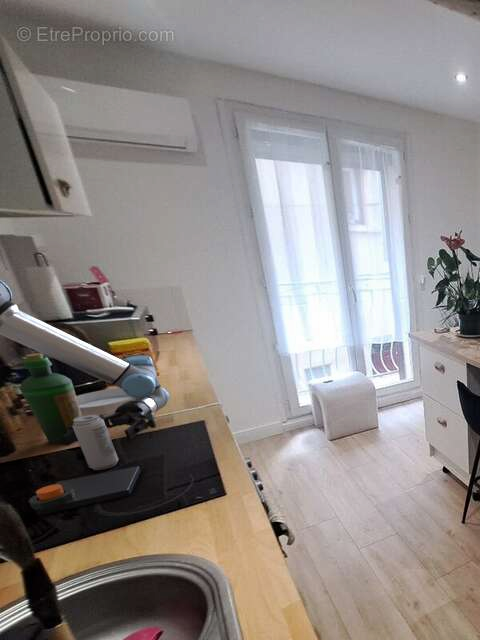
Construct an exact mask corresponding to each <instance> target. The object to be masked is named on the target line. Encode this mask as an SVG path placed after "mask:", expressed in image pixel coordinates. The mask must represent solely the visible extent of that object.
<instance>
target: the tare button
mask: <svg viewBox="0 0 480 640" xmlns="http://www.w3.org/2000/svg"><path fill="white" fill-rule="evenodd" d="M62 494H64V491H63V489H62V486H61V485H59V484H56V483H55V484H50V485H46V486H44V487H40V488H39V489H37V490H36V491H35V495H37V496H38V498H39V500H48V499H52V498H55V497H58V496H60V495H62Z"/></svg>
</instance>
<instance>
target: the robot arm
mask: <svg viewBox="0 0 480 640" xmlns="http://www.w3.org/2000/svg"><path fill="white" fill-rule="evenodd" d="M12 301H13V293H12V290H11V288H10V287H9V286H8V285H7V283H6V282H4V281H3V280H2V279H0V336H3V337H4V338H7V339H10V340H12V341H14V342H16V343H18V344H21V345H23V346H25V347H27V348H30V349H32V350H34V351H36V352H39V353H40V354H42V355H43V354H44V355H46V356H48V357H50V358H52V359H55V360H57V361H59V362H60V363H63V364H66V365H68V366H70V367H72V368H75V369H77V370H79V371H82V372H84V373H86V374H88V375H90V376H92V377H94V378H97V379H100V380H102V381H104V382H107V383H109V384H111V385H113V386H115V387H117V388H121V389H122V390H123V391H124V392H125V393H126V394H127V395H129V396H131V397H133V398H132V399H130V400H129V401H127V402H125V403H124V404H122V405H120V406H119V407H118V408H117V409H116V411H115V413H114V414H113V415H110V416H106V417H104V416H103V415H99V417H100V418H101V419H103V420H104V422H105V425H106V428H107V429H111V428H114V427H118V426H124V425H126V426H129V427H127V428H126V429H125V430H124V434H125V437H126V439H127V440H132V438H134V437H135V436H136V435H139V433H141V432H144V430H147V429H149V428H151V429H154V428H156V427H157V424H156V421H155V419H156V415H155V413H157V412H158V411H159V410H161V409H163V408H164V407H165V406H166V405H167V404H168V403H169V401H170V399H171V397H170V393H169V392H168V390H166V388H164V387H162V386H161V384H160V380H159V377H158V373H157V370H156V367H155V366H156V365H155V364H154V362H153V359H152V357H151V356H149V355H135V356H133V355H132V356H129V357H125V358H122V359H120V358H118V357H116V356H114V355H112V354H110V353H108V352H106V351H104V350H102V349H100V348H98V347H96V346H93V345H92V344H89V343H87V342H85V341H83V340H81V339H79V338H77V337H75V336H73V335H71V334H69V333H67V332H65V331H63V330H61V329H58V328H57V327H54V326H52V325H51V324H48V323H46V322H44V321H42V320H40V319H38V318H36V317H34V316H32V315H30V314H28V313H26V312H24V311H21V310H20V308H19V306H18V305H17V304H16V303H14V302H12ZM72 426H73V425H72ZM72 426H69V427H67V430H68V432H69V433H67V434H66V435H64V436H63V437H62V439H63V441H64V443H63V444H64V445H65V447H68V446H71V445H72V444H73V443H75V442H77V441H78V439H77V436H76V434H75V432H74V429H73V427H72Z"/></svg>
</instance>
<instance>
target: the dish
mask: <svg viewBox="0 0 480 640" xmlns="http://www.w3.org/2000/svg"><path fill="white" fill-rule="evenodd" d="M76 397H77V401H78V404H79V407H80V410H81V414H82V416H85V415H93V414H95V415H103V416H104V417H106V416H110V415H113V414H114V413H115V411H116V409H117V408H118V407H119V406H120V405H122V404H124V403H125V402H127V401H129V400H130V399H132V398H133V397H131V396H129V395H127V394H126V393H125V392H124V391H123V390H122V389H121V388H119V387H117V388H110V389H102V390H96V391H92V392H86V393H82V394H78V395H76Z"/></svg>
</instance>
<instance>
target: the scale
mask: <svg viewBox="0 0 480 640" xmlns="http://www.w3.org/2000/svg"><path fill="white" fill-rule="evenodd" d="M141 472H142V471H141V468H140V466H139V465H137V466H132V467H127V468H122V469H116V470H111V471H106V472H101V473H95V474H90V475H86V476H82V477H81V476H80V477H76V478H71V479H66V480H60V481H56V482H55V484H59V485H61V486H62V489H63V491H64V494H62V495H60V496H58V497H55V498H52V499H48V500H39V498H38V496H37V494H35V495H34V496H31V497H30V499H29V500H28V504H29V505H30V507H31V508H32V509H33V510H34V511H35V512H36V515H37V516H43V515H47V514H51V513H52V514H53V513H56V512H61V511H65V510H69V509H75V508H78V507H83V506H88V505H93V504H97V503H100V502H106V501H109V500H115V499H119V498H123V497H128V496H131V493H132V491H133V489H134V487H135V485H136V483H137V480H138V478H139V476H140V474H141Z"/></svg>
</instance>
